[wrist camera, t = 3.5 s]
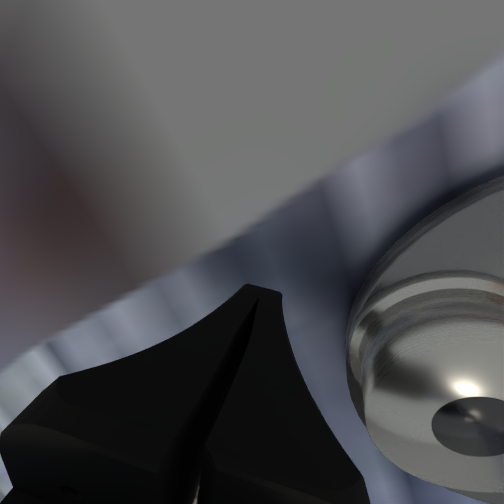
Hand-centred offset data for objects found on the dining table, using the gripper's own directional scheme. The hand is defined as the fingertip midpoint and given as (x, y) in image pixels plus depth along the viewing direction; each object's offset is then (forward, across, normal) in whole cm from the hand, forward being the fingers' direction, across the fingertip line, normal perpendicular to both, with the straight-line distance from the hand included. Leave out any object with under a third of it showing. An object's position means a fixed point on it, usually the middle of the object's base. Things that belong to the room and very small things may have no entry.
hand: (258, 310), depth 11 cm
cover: (+1, -6, 0) cm, 7 cm away
